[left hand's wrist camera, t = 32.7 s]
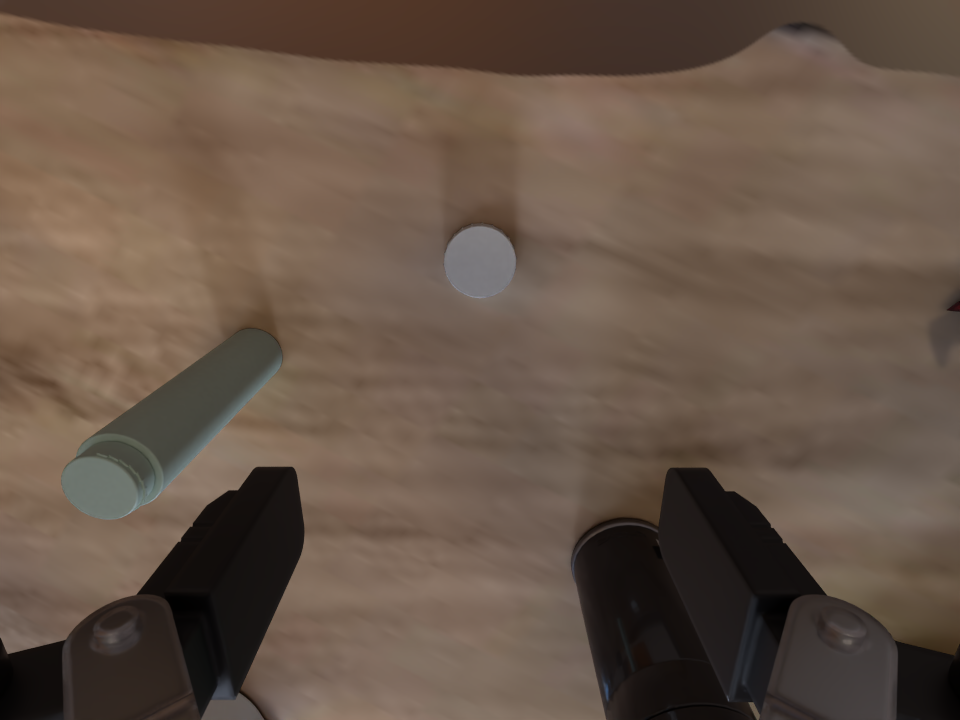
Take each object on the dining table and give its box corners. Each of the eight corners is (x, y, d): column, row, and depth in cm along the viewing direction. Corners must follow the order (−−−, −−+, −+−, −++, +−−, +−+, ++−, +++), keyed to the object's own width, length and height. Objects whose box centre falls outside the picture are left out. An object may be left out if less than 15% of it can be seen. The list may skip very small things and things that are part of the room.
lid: (433, 238, 39) (431, 241, 37) (501, 211, 38) (502, 213, 36) (460, 303, 40) (459, 309, 39) (525, 278, 40) (527, 283, 38)
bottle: (278, 384, 43) (143, 535, 26) (225, 370, 42) (52, 515, 25) (286, 336, 41) (148, 461, 24) (231, 321, 41) (51, 439, 24)
